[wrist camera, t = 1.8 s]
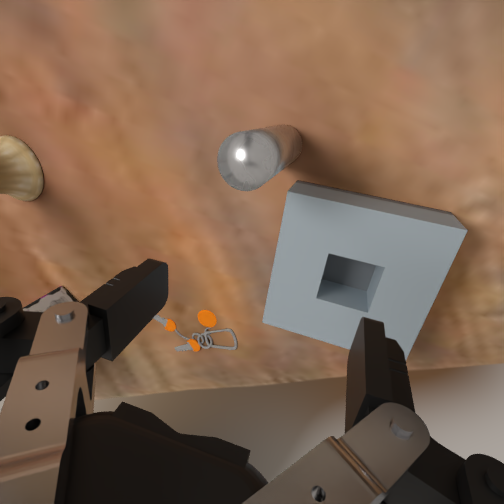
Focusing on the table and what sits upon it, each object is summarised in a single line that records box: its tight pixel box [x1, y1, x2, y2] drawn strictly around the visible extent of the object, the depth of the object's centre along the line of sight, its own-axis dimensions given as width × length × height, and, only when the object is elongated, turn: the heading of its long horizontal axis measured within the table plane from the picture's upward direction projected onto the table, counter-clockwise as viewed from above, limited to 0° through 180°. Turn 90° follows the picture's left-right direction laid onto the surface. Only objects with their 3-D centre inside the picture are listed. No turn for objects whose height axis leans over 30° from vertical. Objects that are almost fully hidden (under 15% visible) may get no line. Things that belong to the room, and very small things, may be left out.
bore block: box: [262, 180, 468, 360], centre depth 31 cm, size 14×14×5 cm
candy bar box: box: [23, 286, 77, 312], centre depth 43 cm, size 11×5×16 cm, turn 134°
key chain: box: [153, 310, 237, 351], centre depth 43 cm, size 13×7×1 cm, turn 101°
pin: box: [217, 125, 302, 191], centre depth 25 cm, size 4×4×12 cm
